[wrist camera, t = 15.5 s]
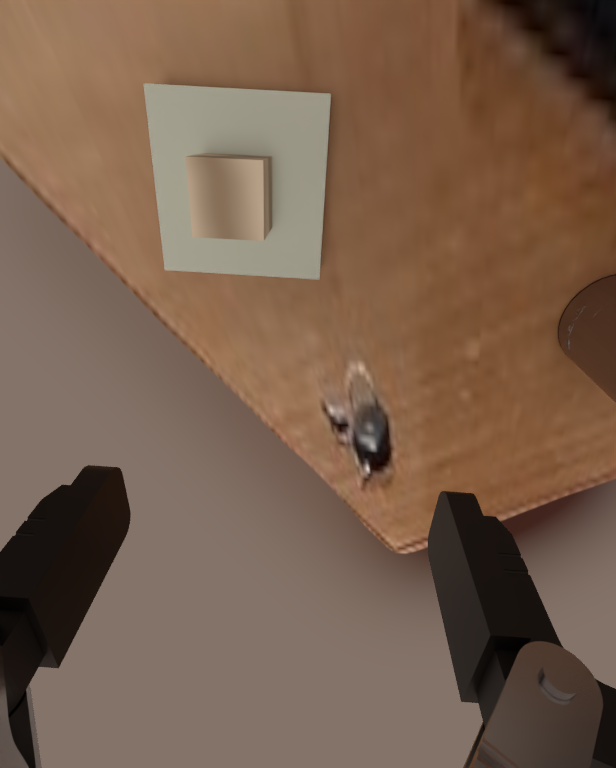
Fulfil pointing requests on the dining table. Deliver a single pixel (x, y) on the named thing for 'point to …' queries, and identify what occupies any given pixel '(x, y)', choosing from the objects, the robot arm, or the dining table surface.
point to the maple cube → (230, 196)
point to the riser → (242, 137)
